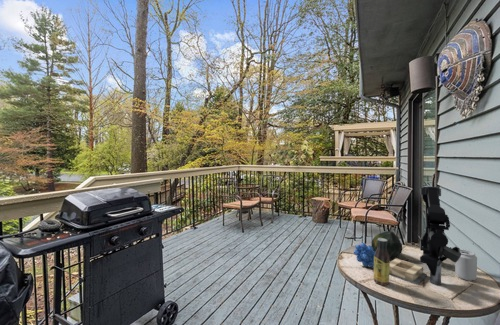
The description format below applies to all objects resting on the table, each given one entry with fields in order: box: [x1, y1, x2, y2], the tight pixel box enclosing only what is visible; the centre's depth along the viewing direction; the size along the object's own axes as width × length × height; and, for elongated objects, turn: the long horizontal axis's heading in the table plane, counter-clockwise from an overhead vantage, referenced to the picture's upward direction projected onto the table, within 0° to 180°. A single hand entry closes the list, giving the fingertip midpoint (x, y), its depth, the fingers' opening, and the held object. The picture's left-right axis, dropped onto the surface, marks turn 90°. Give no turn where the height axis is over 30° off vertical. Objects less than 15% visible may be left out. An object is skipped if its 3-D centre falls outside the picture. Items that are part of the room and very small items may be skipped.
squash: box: [370, 230, 403, 259], centre depth 140 cm, size 14×15×15 cm
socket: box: [389, 257, 428, 286], centre depth 119 cm, size 12×15×4 cm
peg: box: [429, 261, 442, 286], centre depth 110 cm, size 4×4×10 cm
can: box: [454, 249, 478, 282], centre depth 114 cm, size 8×8×12 cm
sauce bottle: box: [372, 238, 391, 286], centre depth 111 cm, size 6×6×20 cm
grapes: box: [353, 242, 375, 268], centre depth 126 cm, size 12×7×12 cm, turn 59°
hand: (435, 274), depth 110 cm, fingers closed on peg, 4 cm apart
